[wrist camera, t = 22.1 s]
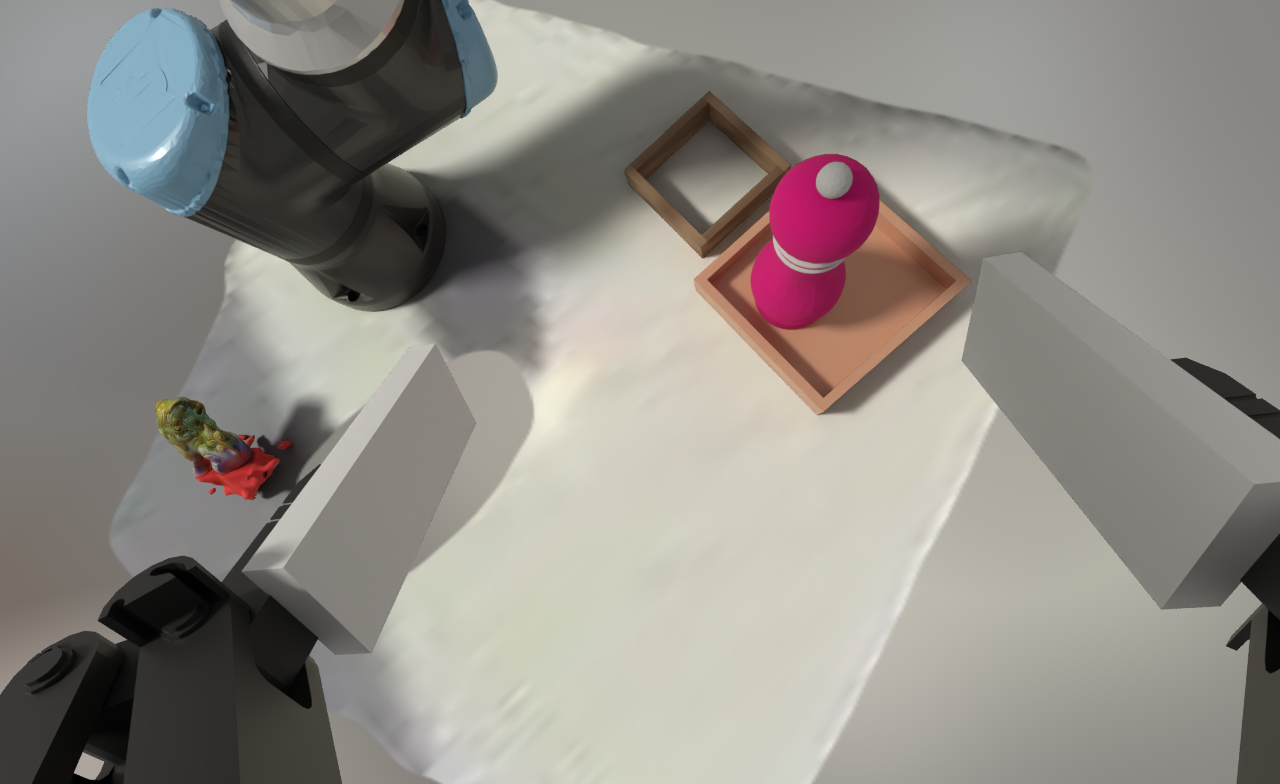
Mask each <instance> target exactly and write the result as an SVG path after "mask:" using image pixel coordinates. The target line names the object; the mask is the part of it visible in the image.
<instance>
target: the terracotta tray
mask: <svg viewBox="0 0 1280 784" xmlns="http://www.w3.org/2000/svg"><path fill="white" fill-rule="evenodd" d="M772 239H773V234H772V231H771V226H770V221H769V211H768V212H767V213H766V214H765V215H764V216H763V217H762V218H761V219H760V220H758V221H757V222H756V223H755V224H754V225H753V226H752V227H751V228H750V229H749V230H747V231H746V232H745V233H744V234H743V235H742V236H741V237H740V238H739V239H738V240H736V241H735V242H734V243H733V244H732V245H731V246H730V247H729V248H728V249H727V250H726V251H724V252H723V253H722V254H721V255H720V256H719V257H718V258H717V259H716V260H715V261H713V262H712V263H711V264H710V265H709V266H708V267H707V268H706V269H705V270H704V271H702V272H701V273H700V274H699V275H698V276H697V277H696V278H695V279H694V283H695V288H696V291H697V292H698V293H699V294H700V295H701V296H702V297H703V298H704V299H705V300H706V301H707V302H708V303H709V304H710V305H711V306H712V307H713V308H714V309H715V311H716V312H717V313H718V314H719V315H720V316H721V317H722V318H723V319H724V320H725V321H726V322H727V323H728V324H729V325H730V326H731V327H732V328H733V329H734V330H735V331H736V332H737V333H738V334H739V335H740V336H741V337H742V338H743V339H744V340H745V341H746V342H747V343H748V345H749V346H750V347H751V348H752V349H753V350H754V351H755V352H756V353H757V354H758V355H759V356H760V357H761V358H762V359H763V360H764V361H765V362H766V363H767V364H768V365H769V366H770V367H771V368H772V369H773V370H774V371H775V372H776V373H777V374H778V375H779V376H780V377H781V378H782V380H783V381H784V382H785V383H786V384H787V385H788V386H789V387H790V388H791V389H792V390H793V391H794V392H795V393H796V394H797V395H798V396H799V397H800V398H801V399H802V400H803V401H804V402H805V403H806V404H807V405H808V406H809V407H810V408H811V409H812V410H813V411H814V412H815V413H816V415H818V414H820V413H822V412H824V411H825V410H826V409H827V408H828V407H829V406H831V405H832V404H833V403H834V402H835V401H836V400H837V399H839V398H840V397H841V396H842V395H843V394H844V393H845V392H846V391H848V390H849V389H850V388H851V387H852V386H853V385H854V384H856V383H857V382H858V381H859V380H860V379H861V378H862V377H863V376H865V375H866V374H867V373H868V372H869V371H870V370H871V369H873V368H874V367H875V366H876V365H877V364H878V363H879V362H880V361H882V360H883V359H884V358H885V357H886V356H887V355H888V354H890V353H891V352H892V351H893V350H894V349H895V348H896V347H897V346H899V345H900V344H901V343H902V342H903V341H904V340H905V339H907V338H908V337H909V336H910V335H911V334H912V333H913V332H915V331H916V330H917V329H918V328H919V327H920V326H921V325H922V324H924V323H925V322H926V321H927V320H928V319H929V318H930V317H932V316H933V315H934V314H935V313H936V312H937V311H938V310H939V309H941V308H942V307H943V306H944V305H945V304H946V303H947V302H949V301H950V300H951V299H952V298H953V297H954V296H955V295H956V294H958V293H959V292H960V291H961V290H962V289H963V288H964V287H966V286H967V285H968V284H969V283H970V282H971V280H970V279H969V278H968V277H967V276H966V275H965V274H963V273H962V272H961V271H960V270H959V269H958V268H957V267H956V266H954V265H953V264H952V263H951V262H950V261H949V260H948V259H946V258H945V257H944V256H943V255H942V254H941V253H940V252H938V251H937V250H936V249H935V248H934V247H933V246H932V245H930V244H929V243H928V242H927V241H926V240H925V239H924V238H923V237H921V236H920V235H919V234H918V233H917V232H916V231H915V230H913V229H912V228H911V227H910V226H909V225H908V224H907V223H905V222H904V221H903V220H902V219H901V218H900V217H899V216H897V215H896V214H895V213H894V212H893V211H892V210H891V209H889V208H888V207H887V206H886V205H885V204H884V203H883V202H882V201H880V206H879V215H878V218H877V221H876V224H875V227H874V229H873V231H872V233H871V234H870V236H869V237H868V239H867V240H866V241H865V242H864V244H863V245H862V246H861V247H860V248H859V249H857V250H856V251H854V252H853V253H852V254H850V255H849V256H848V257H846V258H845V260H844V262H845V267H846V280H845V286H844V289H843V291H842V294H841V296H840V298H839V300H838V302H837V303H836V304H835V306H834V307H833V308H832V309H831V310H830V311H829V312H828V313H827V314H825V315H824V316H822V317H820V318H818V319H817V320H816V321H815V322H813V323H812V324H810V325H809V326H806V327H804V328H800V329H795V330H787V329H781V328H778V327H775V326H773V325H771V324H770V323H768V322H767V321H766V320H765V319H764V318H763V317H762V316H761V315H760V313H759V311H758V309H757V307H756V304H755V299H754V296H753V293H752V290H751V282H750V281H751V272H752V268H753V265H754V262H755V260H756V258H757V256H758V254H759V252H760V251H761V250H762V249H763V248H764V246H765V245H766V244H767V243H769V242H770V241H771V240H772Z"/></svg>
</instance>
